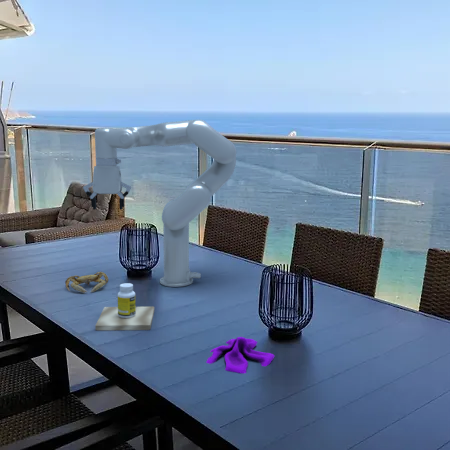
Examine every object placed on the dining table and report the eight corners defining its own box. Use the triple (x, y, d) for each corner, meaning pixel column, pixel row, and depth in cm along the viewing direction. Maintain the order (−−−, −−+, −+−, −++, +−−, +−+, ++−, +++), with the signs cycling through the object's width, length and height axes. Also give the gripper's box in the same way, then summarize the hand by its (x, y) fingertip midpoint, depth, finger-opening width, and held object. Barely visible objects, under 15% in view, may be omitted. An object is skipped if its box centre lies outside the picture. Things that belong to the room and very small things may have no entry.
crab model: (68, 296, 188) (67, 282, 187) (63, 286, 200) (63, 272, 199) (112, 291, 194) (111, 277, 193) (105, 281, 206) (105, 267, 205)
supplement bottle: (131, 319, 163) (131, 288, 161) (115, 317, 164) (114, 287, 162) (138, 313, 168) (137, 283, 166) (122, 311, 169) (121, 281, 167)
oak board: (154, 310, 175) (154, 306, 174) (150, 329, 159) (150, 325, 159) (104, 311, 174) (104, 306, 173) (95, 330, 158) (95, 325, 158)
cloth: (245, 337, 156) (245, 317, 154) (290, 360, 141) (290, 338, 140) (180, 357, 142) (179, 335, 141) (222, 384, 128) (222, 360, 127)
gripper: (131, 161, 199) (132, 207, 203) (84, 161, 198) (86, 207, 202) (129, 163, 192) (130, 210, 195) (80, 163, 191) (82, 210, 194)
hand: (107, 209), depth 198 cm, fingers open, 9 cm apart
